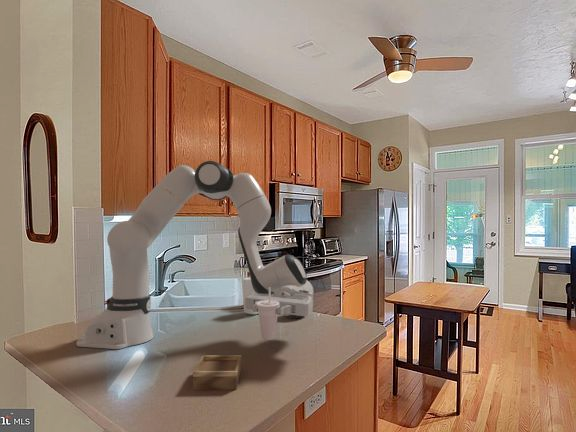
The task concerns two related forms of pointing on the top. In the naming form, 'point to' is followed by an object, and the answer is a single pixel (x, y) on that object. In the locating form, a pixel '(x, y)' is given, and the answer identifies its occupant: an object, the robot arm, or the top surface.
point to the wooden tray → (217, 372)
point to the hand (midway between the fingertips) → (266, 310)
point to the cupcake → (295, 317)
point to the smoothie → (268, 317)
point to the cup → (248, 294)
